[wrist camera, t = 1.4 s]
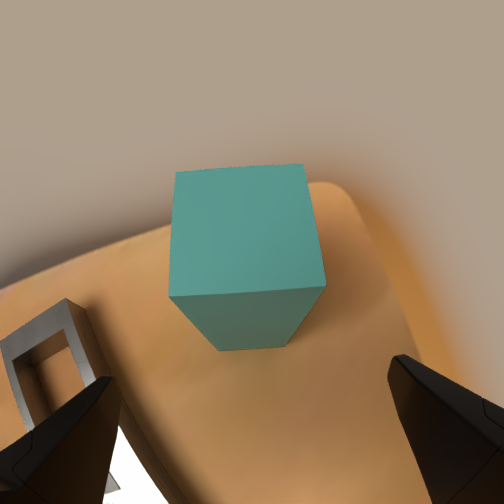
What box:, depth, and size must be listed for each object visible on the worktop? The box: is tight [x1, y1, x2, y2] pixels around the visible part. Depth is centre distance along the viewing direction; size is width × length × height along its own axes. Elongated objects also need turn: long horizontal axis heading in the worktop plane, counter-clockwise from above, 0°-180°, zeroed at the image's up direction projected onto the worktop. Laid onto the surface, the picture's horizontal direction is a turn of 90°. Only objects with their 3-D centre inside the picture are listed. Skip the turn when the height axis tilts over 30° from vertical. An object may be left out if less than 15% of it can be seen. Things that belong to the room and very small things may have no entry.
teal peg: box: [169, 164, 327, 351], centre depth 15 cm, size 4×4×13 cm
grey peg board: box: [0, 298, 190, 504], centre depth 15 cm, size 21×8×3 cm, turn 32°
